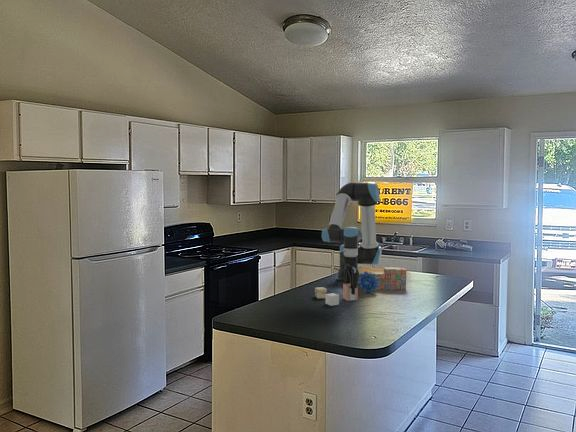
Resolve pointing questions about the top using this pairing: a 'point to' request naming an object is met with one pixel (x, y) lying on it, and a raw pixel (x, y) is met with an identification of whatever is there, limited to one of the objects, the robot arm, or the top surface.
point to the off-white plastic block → (332, 299)
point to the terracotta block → (347, 292)
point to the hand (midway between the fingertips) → (350, 298)
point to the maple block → (320, 292)
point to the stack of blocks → (391, 278)
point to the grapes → (368, 282)
